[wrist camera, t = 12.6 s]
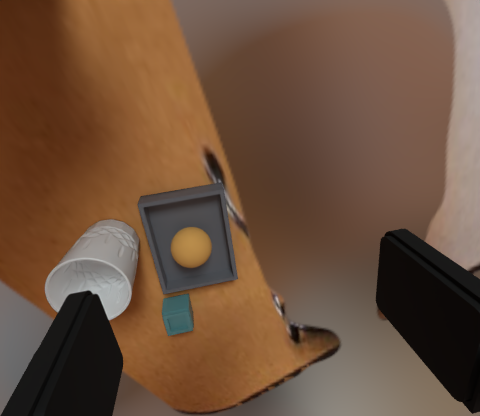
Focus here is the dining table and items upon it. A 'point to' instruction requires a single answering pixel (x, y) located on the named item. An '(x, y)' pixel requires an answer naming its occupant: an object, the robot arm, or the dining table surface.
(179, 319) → the block
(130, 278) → the white cup
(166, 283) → the tray
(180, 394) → the dining table surface
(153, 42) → the dining table surface
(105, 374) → the robot arm
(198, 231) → the ball
